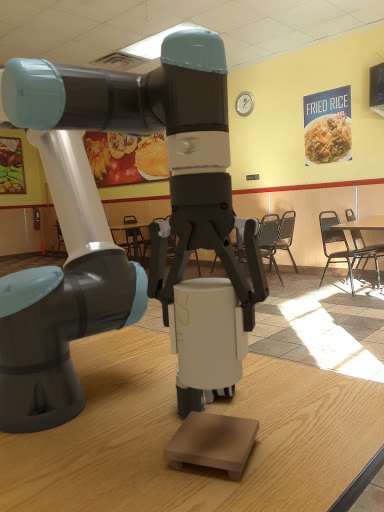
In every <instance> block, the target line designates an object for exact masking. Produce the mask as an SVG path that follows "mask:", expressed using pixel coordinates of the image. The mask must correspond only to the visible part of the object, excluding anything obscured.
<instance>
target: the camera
mask: <svg viewBox="0 0 384 512" xmlns="http://www.w3.org/2000/svg"><path fill="white" fill-rule="evenodd" d="M175 389H176V399H177V400H176V401H177V416H178V417H179V416H180V417H181V418H180V417H179V418H180V419H182V418H183V419H186V418H187V416H188V415H189V414H190V412H191V411H196V412H203V411H204V409H203V408H205V407H206V404H213V401H214V399H215V396H217V397H220V396H223V397H228V398H230V397H233V396H234V395H235V392H236V391H235V390H236V384H234V385H232V386H229V387H225V388H220V389H196V388H192V387H189V386H186V385H185V384H183V383H182V382H181V381H180V379H179V364H178V363H177V364H176V368H175ZM202 410H203V411H202ZM183 419H182V420H183Z"/></svg>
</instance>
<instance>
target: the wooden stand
mask: <svg viewBox="0 0 384 512" xmlns="http://www.w3.org/2000/svg"><path fill="white" fill-rule="evenodd" d="M259 430H260V420H259V419H256V418H255V419H254V418H247V417H239V416H238V417H237V416H232V415H231V416H230V415H225V414H218V413H217V414H216V413H210V412H209V413H208V412H203V411H202V412H196V411H191V412H190V414H189V415H188V416H187V418H186V419H185V420H183V422H182V423H181V424H180V426H179V428H177V430H176V431H175V433H174V434H173V435H172V437H171V438H170V439H169V441H168V442H167V444H166V445H165V446H164V447H163V449H162V452H163V453H162V454H163V459H166V460H170V462H169V463H170V468H171V469H173V470H180V469H182V468H183V466H184V463H187V464H194V465H198V466H204V467H208V468H209V467H211V468H215V469H222V470H227V478H228V479H230V480H231V481H239V480H241V479H242V472H243V470H244V467H245V466H246V465H245V464H246V462H247V459H248V458H249V454H250V452H251V450H252V447H254V446H256V437H257V435H258V432H259Z"/></svg>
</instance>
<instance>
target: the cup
mask: <svg viewBox="0 0 384 512" xmlns="http://www.w3.org/2000/svg"><path fill="white" fill-rule="evenodd" d="M174 302H175V317H176V333H177V348H178V354H177V359H178V360H177V361H178V362H177V364H179V379H180V381H181V382H182V383H183V384H185V385H186V386H189V387H192V388H196V389H220V388H225V387H229V386H232V385H234V384H235V385H236V384H238V383H239V382H240V381H241V380H242V379H243V374H244V373H243V360H237V340H236V318H235V307H236V306H238V305H239V303H240V301H239V298H238V296H237V294H236V292H235V290H234V288H233V286H232V284H231V282H230V280H229V277H227V278H225V277H199V278H191V279H186V280H181V282H180V283H178V284H176V285H174Z"/></svg>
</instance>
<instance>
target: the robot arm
mask: <svg viewBox="0 0 384 512" xmlns="http://www.w3.org/2000/svg"><path fill="white" fill-rule="evenodd" d="M160 46H161V47H160V56H159V62H160V66H158V67H156V68H155V69H153V70H150V71H148V72H146V73H145V72H144V73H137V72H129V71H124V70H116V69H115V70H114V69H108V68H99V67H90V66H84V65H83V66H82V65H76V64H70V63H63V62H56V61H50V60H47V59H44V58H35V57H34V58H32V57H30V58H25V57H11V58H10V59H9V60H7V61H6V63H5V64H2V63H0V129H5V130H18V131H19V130H21V131H24V132H25V136H26V139H27V142H28V143H29V144H30V145H31V146H32V147H35V148H37V150H38V154H39V157H40V160H41V164H42V167H43V170H44V174H45V177H46V181H47V185H48V187H49V192H50V195H51V199H52V203H53V207H54V209H55V212H56V213H55V214H56V217H57V220H58V223H59V228H60V231H61V234H62V237H63V241H64V245H65V249H66V252H67V255H68V257H67V259H66V260H65V262H64V264H63V266H62V268H61V267H59V266H57V265H44V266H39V267H32V268H27V269H23V270H19V271H16V272H13V273H10V274H6V275H5V276H2V277H0V432H2V433H7V434H12V435H13V434H16V435H18V434H21V435H22V434H30V433H32V434H33V433H37V432H42V431H46V430H49V429H52V428H54V427H55V428H56V427H58V426H60V425H62V424H65V423H67V422H68V421H71V420H72V419H74V418H75V417H76V416H78V415H79V414H80V413H81V412H82V411H83V410H84V409H85V407H86V404H87V403H86V391H85V386H84V385H83V383H82V382H81V381H80V377H79V376H78V372H77V371H76V367H75V366H74V363H73V361H72V358H71V349H70V346H71V345H70V343H71V342H72V341H77V340H81V339H85V338H88V337H93V336H96V335H100V334H104V333H107V332H111V331H115V330H116V331H120V330H122V329H124V328H126V327H130V326H132V325H135V324H137V323H140V321H141V320H142V319H143V317H144V316H145V315H146V313H147V309H148V305H149V301H150V300H151V299H155V300H157V301H159V302H160V304H161V309H162V310H161V312H162V324H163V326H164V328H169V340H170V341H169V342H170V343H169V344H170V355H177V356H178V348H177V333H176V317H175V302H174V285H176V284H178V283H180V282H181V281H183V277H184V274H185V271H186V269H187V265H188V263H189V260H190V258H191V255H192V253H194V251H197V250H200V249H203V250H207V251H214V253H215V256H216V257H218V259H219V261H220V263H221V265H222V267H223V269H224V271H225V273H226V275H227V278H228V279H229V280H230V282H231V284H232V286H233V288H234V290H235V292H236V294H237V296H238V298H239V302H240V303H239V305H238V306H236V307H235V318H236V340H237V360H242V361H244V360H245V359H246V357H247V356H248V354H249V333H252V332H253V330H254V329H255V327H256V307H255V305H256V304H259V303H263V302H265V301H266V300H267V299H268V297H269V296H270V288H269V283H268V279H267V274H266V269H265V265H264V260H263V256H262V255H263V254H262V251H261V247H260V242H259V238H258V236H259V230H260V229H259V228H260V223H261V222H260V220H259V218H258V217H251V218H246V217H241V216H237V214H236V212H235V210H234V206H233V184H232V181H233V180H232V175H231V174H230V172H227V169H229V168H230V167H231V166H232V161H231V158H232V157H231V144H230V142H231V141H230V122H229V121H230V120H229V95H228V94H229V93H228V75H229V70H228V66H227V58H226V49H225V43H224V40H223V38H222V37H221V36H220V35H219V34H217V33H216V32H214V31H210V30H208V29H207V30H206V29H199V28H197V29H196V28H191V29H181V30H178V31H175V32H172V33H170V34H168V35H166V36H164V38H163V39H162V43H161V45H160ZM86 132H97V133H98V132H99V133H115V134H116V133H120V134H122V135H124V136H125V137H128V138H141V137H142V138H147V137H151V136H153V135H156V134H158V133H162V132H165V136H166V148H167V149H166V150H167V152H166V153H167V164H168V165H167V167H168V170H169V171H170V172H173V175H172V176H170V178H169V179H168V185H169V200H170V201H169V202H170V207H171V210H170V214H169V218H168V219H167V220H158V221H151V222H150V223H149V224H148V232H149V235H150V236H149V237H150V240H151V242H150V255H149V266H148V275H147V273H146V270H145V269H144V267H143V266H141V264H140V263H139V262H138V261H137V262H136V261H133V260H131V261H129V258H128V256H127V253H126V249H124V248H123V247H121V246H119V245H117V244H116V243H115V242H114V239H113V236H112V232H111V229H110V225H109V223H108V220H107V217H106V213H105V210H104V207H103V204H102V199H101V196H100V194H99V193H100V192H99V190H98V187H97V184H96V182H95V181H96V180H95V178H94V174H93V171H92V168H91V165H90V162H89V158H88V156H87V152H86V149H85V148H86V147H85V146H84V145H85V144H84V142H83V137H84V136H85V134H86ZM234 228H237V229H238V233H239V235H240V236H241V237H243V241H242V242H243V246H244V251H245V254H246V255H245V256H246V259H247V266H248V269H249V274H250V278H251V282H252V284H251V285H252V287H253V290H252V288H251V285H250V282H249V281H248V279H247V277H246V274H245V273H244V271H243V269H242V266H241V264H240V262H239V260H238V258H237V256H236V254H235V252H234V248H233V245H232V243H231V240H230V238H229V236H230V235H231V233H232V231H233V229H234ZM171 230H172V231H173V233H174V234H175V235H176V236H177V238H178V241H177V243H176V246H175V249H174V256H173V260H172V262H171V265H170V267H169V271H168V273H167V276H166V279H165V274H166V264H167V253H168V240H169V239H168V237H169V236H170V234H171ZM62 269H63V270H62Z"/></svg>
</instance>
